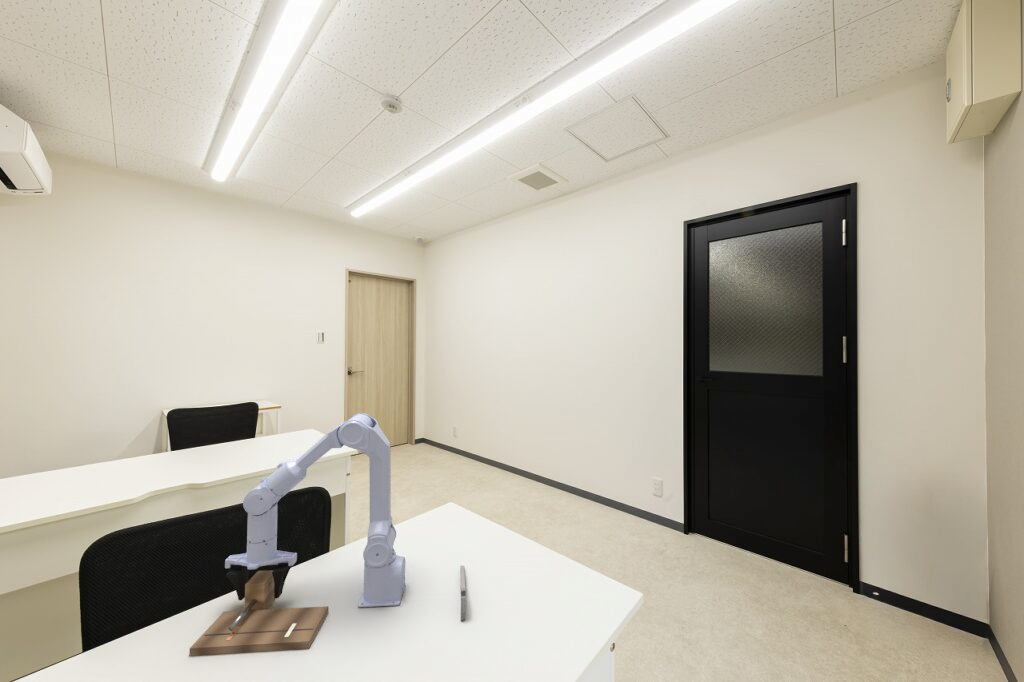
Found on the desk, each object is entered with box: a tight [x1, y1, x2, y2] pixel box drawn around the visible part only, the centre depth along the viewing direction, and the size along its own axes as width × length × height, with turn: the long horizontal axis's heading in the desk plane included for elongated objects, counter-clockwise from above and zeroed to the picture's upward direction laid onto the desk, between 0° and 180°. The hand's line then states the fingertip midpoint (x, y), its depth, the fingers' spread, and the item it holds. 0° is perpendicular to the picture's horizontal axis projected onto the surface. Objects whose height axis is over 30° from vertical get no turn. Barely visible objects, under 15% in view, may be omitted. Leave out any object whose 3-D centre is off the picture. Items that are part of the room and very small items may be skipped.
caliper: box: [459, 565, 467, 622], centre depth 93 cm, size 20×1×6 cm, turn 8°
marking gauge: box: [229, 569, 276, 634], centre depth 82 cm, size 4×13×7 cm, turn 6°
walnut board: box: [188, 605, 329, 657], centre depth 78 cm, size 22×10×2 cm, turn 96°
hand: (260, 596), depth 86 cm, fingers open, 7 cm apart
